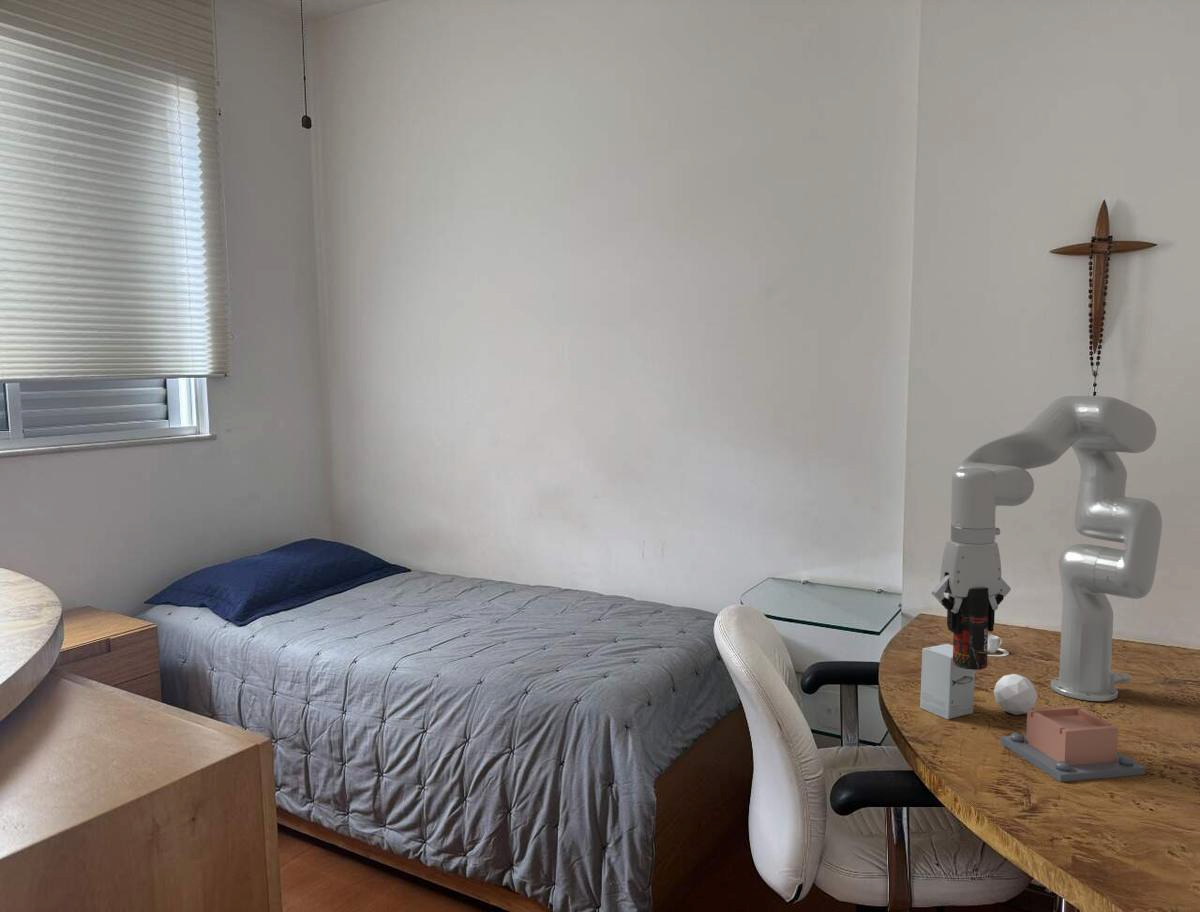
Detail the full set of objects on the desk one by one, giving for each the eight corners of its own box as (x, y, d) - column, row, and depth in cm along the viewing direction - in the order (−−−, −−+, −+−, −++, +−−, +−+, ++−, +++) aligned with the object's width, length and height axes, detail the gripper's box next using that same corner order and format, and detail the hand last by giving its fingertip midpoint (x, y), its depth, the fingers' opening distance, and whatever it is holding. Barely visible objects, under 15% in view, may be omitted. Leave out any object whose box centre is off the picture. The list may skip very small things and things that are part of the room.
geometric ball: (1018, 723, 178) (1041, 690, 179) (1025, 723, 171) (1048, 689, 172) (983, 699, 181) (1005, 667, 182) (988, 698, 174) (1011, 664, 175)
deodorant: (953, 657, 169) (955, 580, 168) (987, 661, 167) (989, 583, 165) (951, 667, 164) (953, 588, 163) (986, 671, 162) (988, 591, 160)
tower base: (1078, 736, 165) (1079, 699, 164) (1145, 774, 149) (1147, 733, 148) (1000, 742, 162) (1002, 704, 161) (1060, 781, 146) (1062, 739, 146)
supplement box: (948, 720, 173) (950, 657, 171) (918, 708, 179) (920, 647, 178) (974, 714, 176) (977, 652, 175) (944, 702, 182) (946, 642, 181)
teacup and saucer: (973, 656, 214) (973, 640, 213) (967, 647, 221) (967, 631, 221) (1012, 659, 212) (1012, 642, 211) (1004, 649, 219) (1005, 633, 219)
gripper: (1002, 529, 168) (999, 621, 170) (918, 534, 165) (917, 628, 167) (1027, 536, 161) (1025, 633, 163) (941, 541, 158) (939, 640, 160)
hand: (970, 629), depth 165 cm, fingers closed on deodorant, 6 cm apart
